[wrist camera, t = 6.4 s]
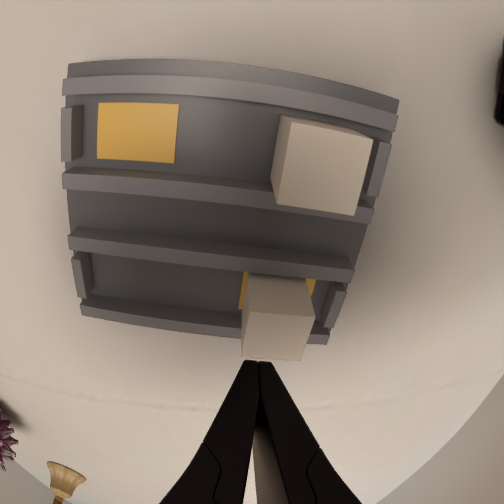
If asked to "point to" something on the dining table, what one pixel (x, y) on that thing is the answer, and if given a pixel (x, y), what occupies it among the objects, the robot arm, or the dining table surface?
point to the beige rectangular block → (319, 165)
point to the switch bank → (203, 190)
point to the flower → (6, 442)
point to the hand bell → (63, 481)
